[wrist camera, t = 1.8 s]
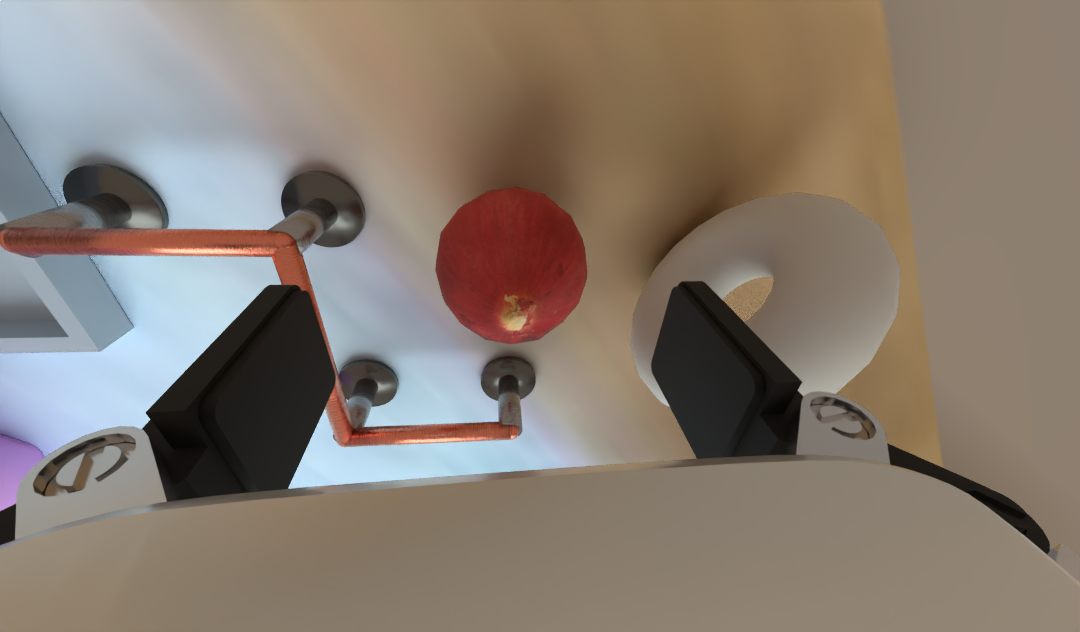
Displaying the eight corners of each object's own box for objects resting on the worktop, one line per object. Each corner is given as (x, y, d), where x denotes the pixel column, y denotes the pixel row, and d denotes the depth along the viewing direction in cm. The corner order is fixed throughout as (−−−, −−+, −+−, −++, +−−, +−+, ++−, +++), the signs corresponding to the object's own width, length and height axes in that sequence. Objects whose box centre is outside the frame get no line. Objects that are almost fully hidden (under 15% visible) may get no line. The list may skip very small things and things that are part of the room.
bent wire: (533, 396, 24) (540, 456, 20) (199, 407, 22) (137, 476, 18) (546, 178, 17) (561, 208, 13) (54, 162, 15) (-96, 192, 11)
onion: (573, 279, 20) (613, 386, 13) (462, 295, 20) (445, 411, 13) (565, 161, 17) (612, 221, 10) (433, 179, 16) (389, 252, 10)
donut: (747, 150, 17) (989, 226, 9) (786, 198, 19) (1027, 303, 10) (594, 305, 21) (661, 463, 12) (636, 335, 22) (722, 496, 14)
